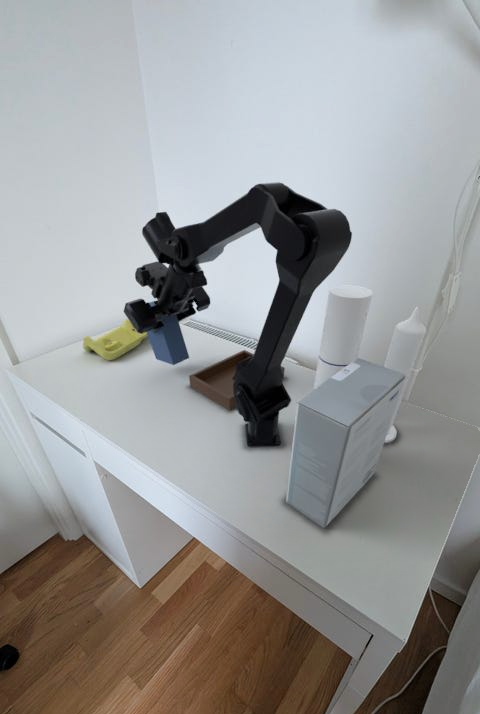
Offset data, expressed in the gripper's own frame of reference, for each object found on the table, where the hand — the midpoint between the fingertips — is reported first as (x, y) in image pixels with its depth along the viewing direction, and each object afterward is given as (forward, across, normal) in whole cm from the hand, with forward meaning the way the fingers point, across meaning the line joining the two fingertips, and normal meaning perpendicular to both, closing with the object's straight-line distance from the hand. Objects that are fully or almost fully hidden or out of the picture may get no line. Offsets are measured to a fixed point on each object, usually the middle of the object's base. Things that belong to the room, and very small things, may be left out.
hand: (160, 327), depth 79 cm
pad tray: (-1, -8, +20) cm, 22 cm away
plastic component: (+23, +1, -9) cm, 24 cm away
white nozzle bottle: (-22, -15, +46) cm, 53 cm away
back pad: (+4, 0, +7) cm, 8 cm away
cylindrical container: (-15, -14, +37) cm, 43 cm away
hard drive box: (-24, +4, +47) cm, 53 cm away
